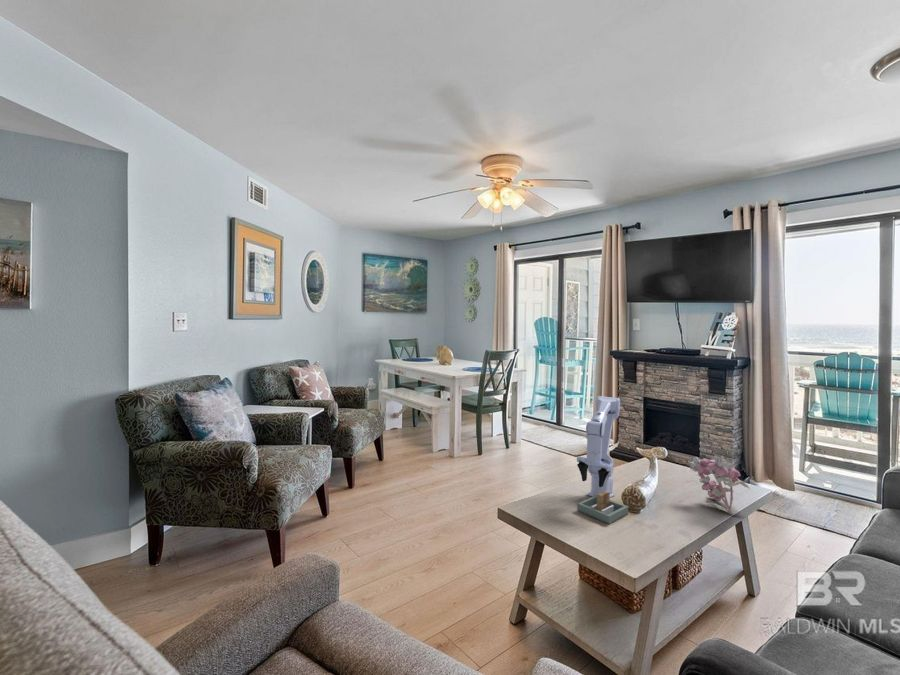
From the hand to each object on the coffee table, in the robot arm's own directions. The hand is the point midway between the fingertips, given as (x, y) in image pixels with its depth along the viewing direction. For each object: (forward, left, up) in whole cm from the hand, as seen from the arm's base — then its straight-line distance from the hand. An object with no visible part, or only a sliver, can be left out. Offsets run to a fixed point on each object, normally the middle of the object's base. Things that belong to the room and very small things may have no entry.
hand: (592, 483), depth 180 cm
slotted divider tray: (0, +5, -10) cm, 12 cm away
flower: (-47, +30, -11) cm, 57 cm away
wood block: (0, +5, -10) cm, 11 cm away
